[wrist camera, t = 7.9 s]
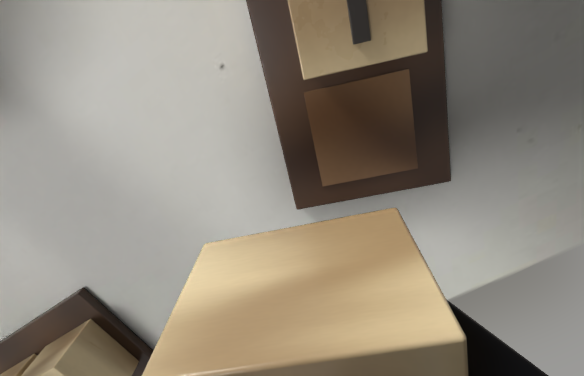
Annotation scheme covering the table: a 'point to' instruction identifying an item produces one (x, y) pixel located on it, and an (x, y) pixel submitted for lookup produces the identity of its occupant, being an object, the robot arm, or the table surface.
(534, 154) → the table surface
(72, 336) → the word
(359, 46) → the letter block display
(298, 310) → the letter s tile
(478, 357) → the robot arm
